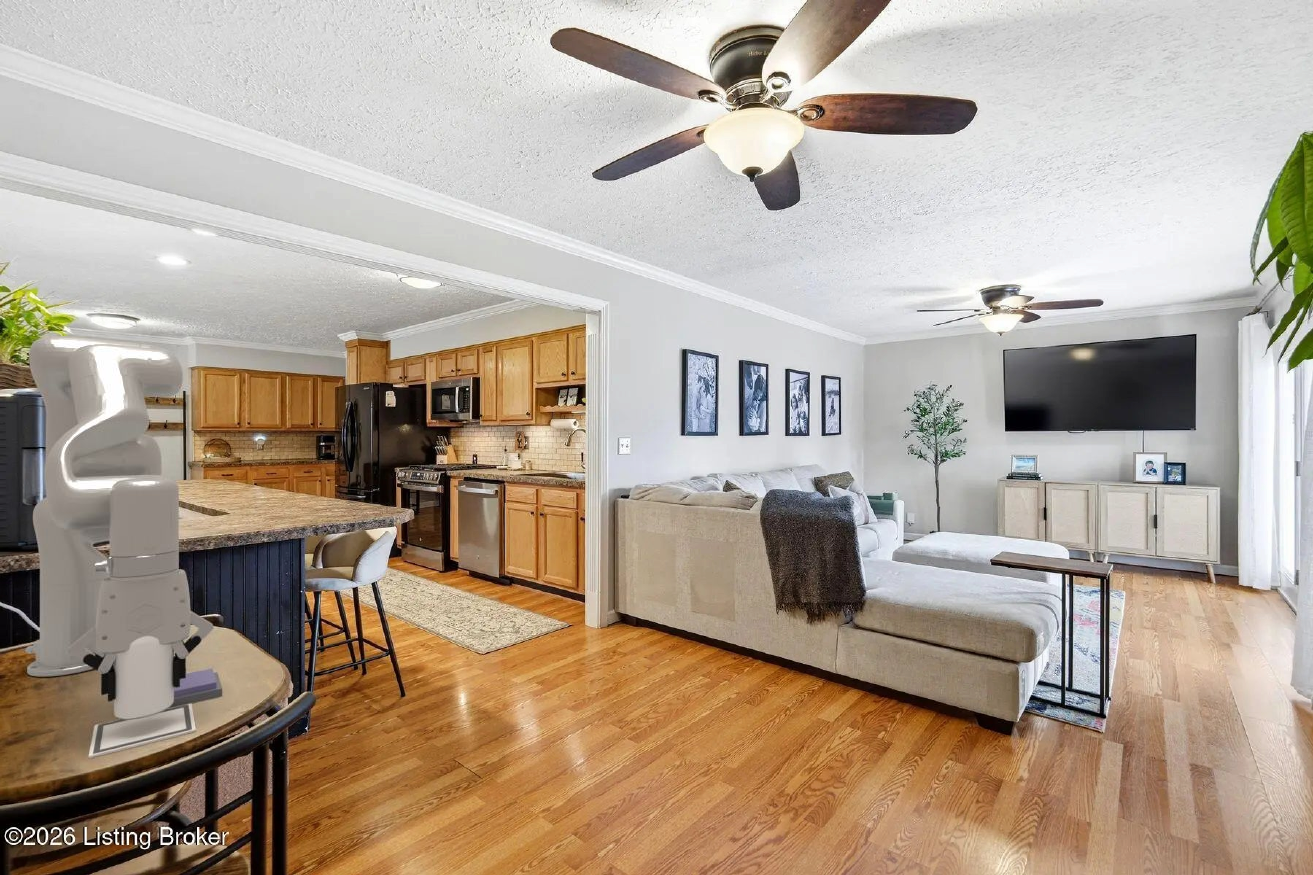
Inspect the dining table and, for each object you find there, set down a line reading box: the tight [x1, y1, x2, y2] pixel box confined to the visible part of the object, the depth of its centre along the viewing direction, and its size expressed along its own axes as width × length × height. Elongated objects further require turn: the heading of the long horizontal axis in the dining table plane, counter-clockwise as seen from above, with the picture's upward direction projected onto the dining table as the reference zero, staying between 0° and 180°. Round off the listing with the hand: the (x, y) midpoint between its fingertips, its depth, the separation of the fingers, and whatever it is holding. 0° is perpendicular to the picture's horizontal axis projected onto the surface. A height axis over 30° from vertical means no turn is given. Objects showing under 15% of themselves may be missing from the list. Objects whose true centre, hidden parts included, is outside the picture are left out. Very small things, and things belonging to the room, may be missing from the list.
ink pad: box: [168, 668, 223, 709], centre depth 97 cm, size 9×9×2 cm
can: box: [113, 630, 175, 720], centre depth 85 cm, size 6×6×12 cm
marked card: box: [88, 703, 197, 759], centre depth 85 cm, size 11×11×1 cm
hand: (144, 690), depth 85 cm, fingers closed on can, 6 cm apart
